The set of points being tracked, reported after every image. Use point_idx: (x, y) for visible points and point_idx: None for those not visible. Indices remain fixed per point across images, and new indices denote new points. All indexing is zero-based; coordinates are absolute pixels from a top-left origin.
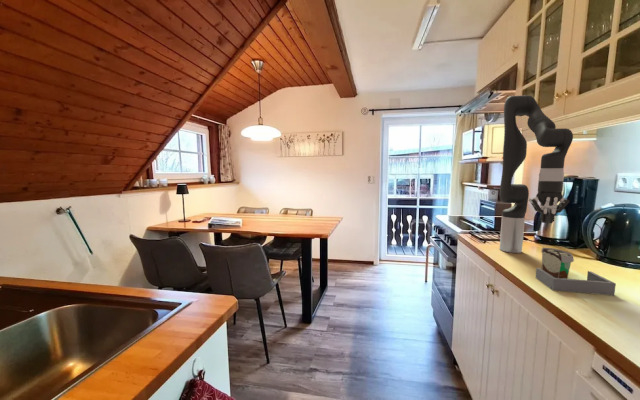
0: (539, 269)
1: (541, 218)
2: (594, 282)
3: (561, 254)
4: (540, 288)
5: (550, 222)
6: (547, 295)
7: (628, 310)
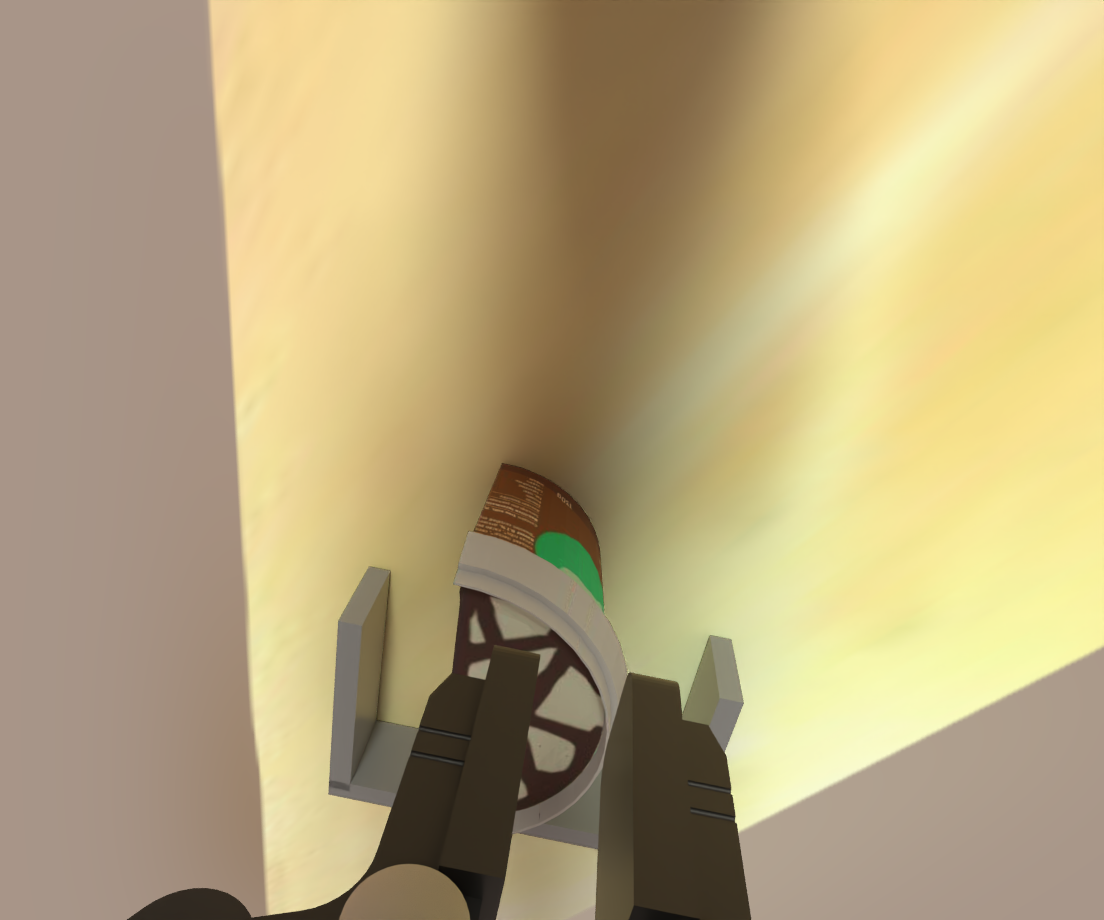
0: (339, 654)
1: (427, 754)
2: (562, 839)
3: (533, 723)
4: (298, 706)
5: (602, 780)
6: (284, 775)
7: (570, 901)
